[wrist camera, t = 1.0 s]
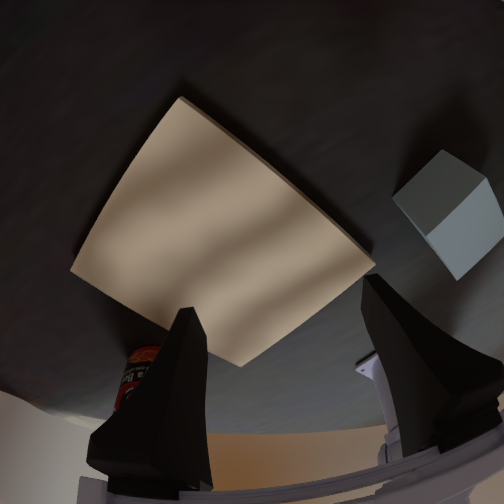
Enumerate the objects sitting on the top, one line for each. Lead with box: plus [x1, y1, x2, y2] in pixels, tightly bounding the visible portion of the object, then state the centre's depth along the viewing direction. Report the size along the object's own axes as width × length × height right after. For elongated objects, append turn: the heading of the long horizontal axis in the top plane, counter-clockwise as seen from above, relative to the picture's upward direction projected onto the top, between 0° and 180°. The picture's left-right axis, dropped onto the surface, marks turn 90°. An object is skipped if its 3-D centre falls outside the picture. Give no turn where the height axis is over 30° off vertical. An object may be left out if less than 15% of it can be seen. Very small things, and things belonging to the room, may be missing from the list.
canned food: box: [112, 346, 161, 415], centre depth 27 cm, size 8×8×11 cm
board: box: [70, 96, 376, 367], centre depth 23 cm, size 18×16×1 cm
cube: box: [392, 150, 504, 281], centre depth 19 cm, size 6×6×6 cm
